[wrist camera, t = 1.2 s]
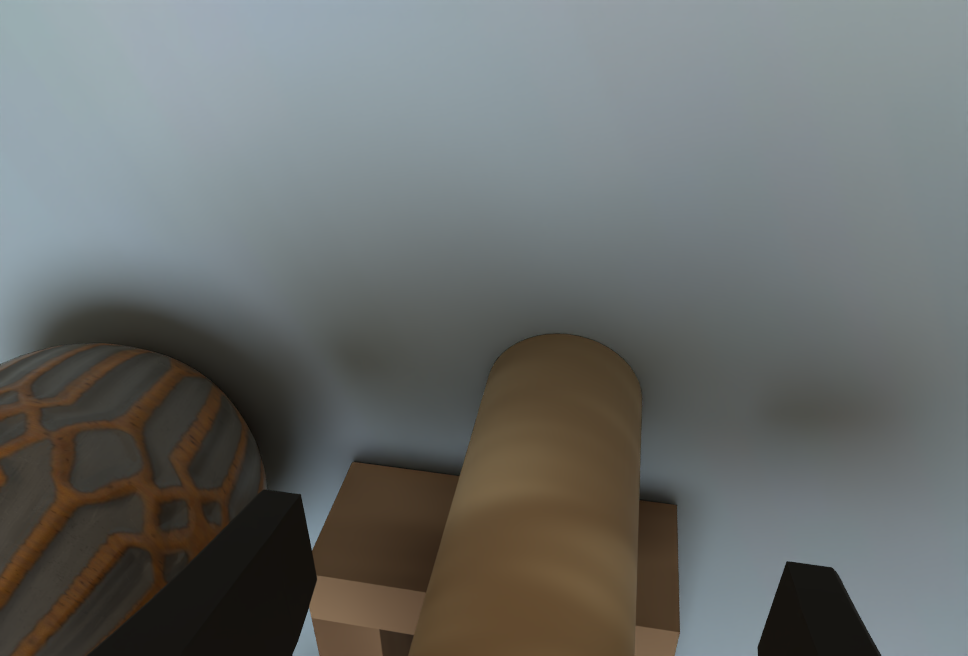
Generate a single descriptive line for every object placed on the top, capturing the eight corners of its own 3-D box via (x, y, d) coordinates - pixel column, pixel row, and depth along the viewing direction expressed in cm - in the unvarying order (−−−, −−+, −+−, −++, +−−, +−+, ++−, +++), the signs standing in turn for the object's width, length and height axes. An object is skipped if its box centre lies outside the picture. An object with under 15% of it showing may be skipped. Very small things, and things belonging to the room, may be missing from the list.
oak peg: (651, 343, 14) (643, 818, 8) (632, 463, 16) (615, 935, 9) (486, 325, 15) (347, 762, 8) (486, 444, 16) (371, 883, 10)
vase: (-37, 287, 16) (-561, 669, 9) (264, 289, 15) (-87, 743, 8) (89, 515, 20) (-216, 908, 13) (339, 534, 19) (147, 987, 12)
